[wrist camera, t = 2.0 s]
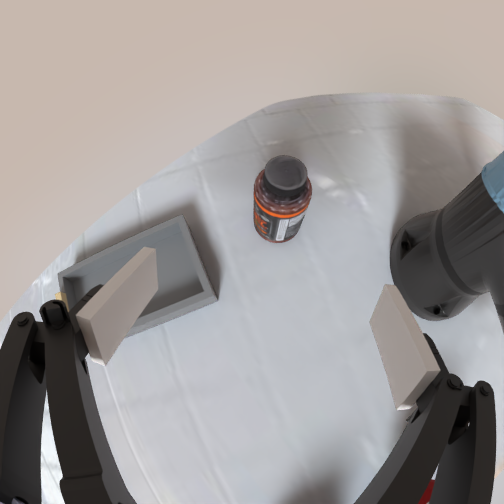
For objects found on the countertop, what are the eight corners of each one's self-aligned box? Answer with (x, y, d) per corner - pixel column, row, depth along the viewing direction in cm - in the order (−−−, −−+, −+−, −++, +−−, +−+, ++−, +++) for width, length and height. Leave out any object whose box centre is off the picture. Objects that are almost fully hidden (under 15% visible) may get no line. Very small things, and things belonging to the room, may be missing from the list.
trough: (188, 226, 34) (180, 209, 30) (218, 300, 31) (212, 293, 27) (71, 280, 32) (51, 271, 28) (88, 351, 29) (67, 350, 24)
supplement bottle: (245, 214, 35) (241, 159, 24) (284, 195, 36) (294, 138, 25) (268, 253, 33) (275, 208, 23) (308, 231, 34) (330, 182, 24)
